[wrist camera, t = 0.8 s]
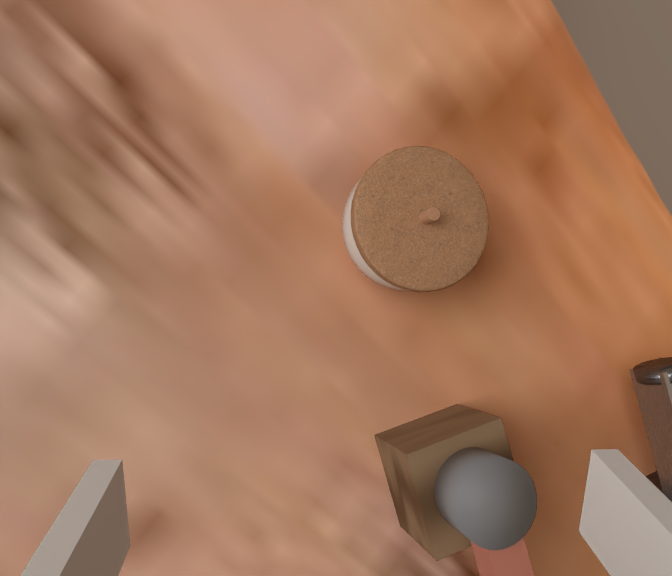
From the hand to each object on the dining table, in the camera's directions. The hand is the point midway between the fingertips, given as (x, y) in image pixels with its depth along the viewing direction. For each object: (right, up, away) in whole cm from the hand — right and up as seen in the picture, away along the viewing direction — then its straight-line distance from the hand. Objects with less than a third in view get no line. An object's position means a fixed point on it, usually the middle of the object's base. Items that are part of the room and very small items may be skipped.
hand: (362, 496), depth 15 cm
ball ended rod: (+11, -14, +25) cm, 30 cm away
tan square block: (+7, -9, +32) cm, 34 cm away
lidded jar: (+4, +11, +32) cm, 34 cm away
